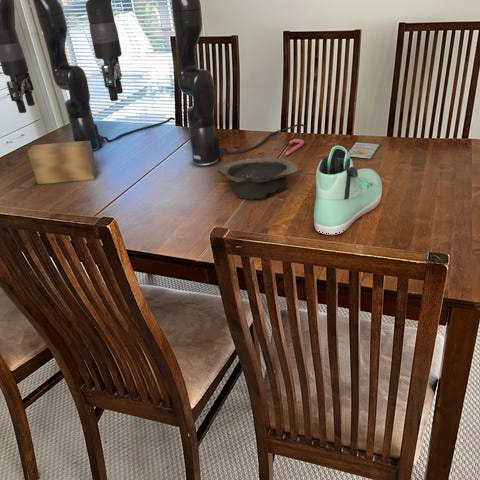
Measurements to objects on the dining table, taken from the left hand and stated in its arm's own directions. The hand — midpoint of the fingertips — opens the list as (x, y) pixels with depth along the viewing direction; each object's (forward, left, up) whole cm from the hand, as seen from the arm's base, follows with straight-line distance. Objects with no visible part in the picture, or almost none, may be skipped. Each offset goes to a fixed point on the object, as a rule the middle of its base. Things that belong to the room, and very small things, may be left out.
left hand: (27, 109), depth 160 cm
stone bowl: (-37, +68, -26) cm, 82 cm away
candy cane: (-70, +57, -26) cm, 94 cm away
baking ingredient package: (-82, +80, -26) cm, 118 cm away
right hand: (-13, +34, +5) cm, 37 cm away
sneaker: (-41, +99, -26) cm, 110 cm away
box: (-5, +5, -26) cm, 27 cm away
